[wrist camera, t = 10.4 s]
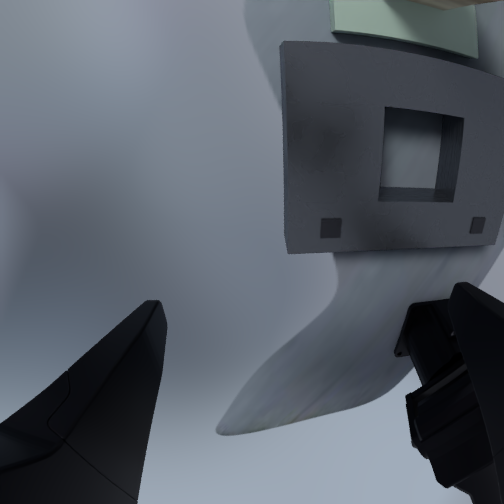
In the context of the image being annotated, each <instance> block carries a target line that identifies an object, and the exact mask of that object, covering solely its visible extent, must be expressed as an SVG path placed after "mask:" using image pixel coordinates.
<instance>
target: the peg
mask: <svg viewBox="0 0 504 504" xmlns="http://www.w3.org/2000/svg"><path fill="white" fill-rule="evenodd" d="M407 1H411V2H415V3H419V4H423V5H427V6H430V7H434V8H437V9H441V10H449V9H454V8H459V7H464V6H469V5H475V4H481V3H488V2H496V1H504V0H407Z"/></svg>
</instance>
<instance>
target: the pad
mask: <svg viewBox="0 0 504 504" xmlns="http://www.w3.org/2000/svg"><path fill="white" fill-rule="evenodd" d="M329 6H330V21H331V32H335V33H346V34H355V35H364V36H371V37H378V38H385V39H391V40H397V41H402V42H407V43H412V44H417V45H422V46H426V47H430V48H434V49H438V50H442V51H446V52H450V53H453V54H457V55H460V56H464V57H467V58H473V59H478V37H477V23H476V12H475V5H469V6H464V7H459V8H454V9H449V10H441V9H437V8H434V7H430V6H427V5H423V4H419V3H415V2H411V1H407V0H329Z"/></svg>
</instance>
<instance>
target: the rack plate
mask: <svg viewBox="0 0 504 504" xmlns="http://www.w3.org/2000/svg"><path fill="white" fill-rule="evenodd" d="M280 66H281V91H282V121H283V162H284V236H285V241H286V247H287V252H288V254H301V253H324V252H348V251H371V250H393V249H415V248H436V247H458V246H479V245H495V242H496V239H497V235H498V232H499V228H500V225H501V221H502V217H503V213H504V79H503V78H501V77H498V76H495V75H492V74H489V73H486V72H483V71H480V70H477V69H474V68H470V67H467V66H463V65H460V64H456V63H453V62H449V61H445V60H441V59H437V58H432V57H428V56H423V55H418V54H414V53H408V52H403V51H397V50H391V49H385V48H378V47H370V46H362V45H353V44H342V43H329V42H310V41H283V42H282V44H281V45H280ZM385 106H386V107H395V108H404V109H412V110H420V111H427V112H433V113H440V114H443V126H442V137H441V148H440V157H439V165H438V172H437V179H436V186H435V189H430V188H400V187H380V176H381V165H382V151H383V135H384V112H385Z"/></svg>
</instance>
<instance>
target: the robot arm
mask: <svg viewBox="0 0 504 504" xmlns="http://www.w3.org/2000/svg"><path fill="white" fill-rule="evenodd" d="M166 335H167V321H166V317H165V313H164V310H163V306H162V303H161V302H160V301H159V300H147V301H145V302H144V303H143V304H142V305H140V306H139V307H138V308H137V309H136V310H134V311H133V312H132V313H131V314H130V315H129V316H127V317H126V318H125V319H124V320H123V321H122V322H120V323H119V324H118V325H117V326H116V327H115V328H114V329H112V330H111V331H110V332H109V333H108V334H107V335H106V336H104V337H103V338H102V339H101V340H100V341H99V342H98V343H97V344H95V345H94V346H93V347H92V348H91V349H90V350H89V351H88V352H86V353H85V354H84V355H83V356H82V357H81V358H80V359H79V360H77V362H75V363H74V364H73V365H72V366H71V367H70V368H69V369H68V371H65V372H64V373H63V374H62V375H61V376H60V377H59V378H57V379H56V380H55V381H54V382H53V383H52V384H50V386H48V387H47V388H46V389H45V390H43V391H42V392H41V393H40V394H38V395H37V396H36V397H35V398H33V399H32V400H31V401H30V402H28V403H27V404H26V405H25V406H23V407H22V408H20V409H19V410H18V411H17V412H15V413H14V414H12V415H11V416H10V417H9V418H7V419H6V420H5V421H3V422H2V423H0V504H137V503H138V502H137V500H138V495H139V489H140V483H141V477H142V472H143V466H144V460H145V455H146V450H147V444H148V439H149V434H150V429H151V424H152V419H153V414H154V410H155V405H156V400H157V396H158V390H159V386H160V382H161V377H162V371H163V362H164V353H165V344H166ZM394 354H395V357H403V356H409V355H410V357H411V360H412V362H413V364H414V367H415V369H416V371H417V374H418V376H419V379H420V381H421V384H422V387H420V388H418V389H417V390H415V391H414V392H412V393H409V394H407V395H406V396H405V398H406V403H407V404H406V409H407V414H408V421H409V427H410V434H411V440H412V441H411V443H412V446H413V447H414V448H417V449H418V450H419V452H420V453H421V455H422V456H423V457H424V458H426V459H429V460H430V463H431V465H432V468H433V471H434V474H435V477H436V480H437V482H438V483H440V484H441V485H442V486H444V487H445V488H449V487H451V486H454V487H455V488H457V489H459V490H461V491H463V492H465V493H467V494H469V496H470V497H471V500H472V503H473V504H504V303H503V302H501V301H499V300H498V299H496V298H494V297H493V296H491V295H489V294H487V293H486V292H484V291H482V290H480V289H479V288H477V287H475V286H473V285H472V284H470V283H468V282H459V283H456V284H455V285H454V288H453V290H452V293H451V296H450V299H443V300H436V301H427V302H419V303H413V304H411V305H410V306H409V309H408V312H407V315H406V318H405V321H404V324H403V327H402V330H401V333H400V336H399V339H398V342H397V344H396V347H395V350H394Z"/></svg>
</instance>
